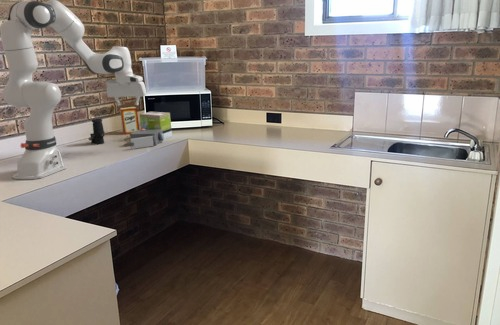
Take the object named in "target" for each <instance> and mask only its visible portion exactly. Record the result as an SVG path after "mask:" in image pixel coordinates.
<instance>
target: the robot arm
mask: <svg viewBox="0 0 500 325" xmlns="http://www.w3.org/2000/svg"><path fill="white" fill-rule="evenodd" d="M47 27H50V28H52V29H53V30H54V31H55V32H56V33H57V34H58V35H59V36H60V37H61V38H62V39H63V40H64V41H65V42H66V43H67V45H68V46H69V47H70V49H72V50H73V52H75V53H76V55H77V56H78V57H79V58H80V59H81V60H82V61H83V63H84V65H85V68H87V70H88V72H90V73H91V74H94V75H101V74H102V75H104V74H109V75H110V74H114V76H115V78H109V79H107V80H106V81H105V86H106V95H107V96H106V97H108V98H114V100H115V102H116V104H117V106H118V107H120V106H122V105H123V104H122V102H121V101H120V100H119V99H120V98H129V97H133V98H134V97H135V99H136V101H134V106H139V101H140V99H141V97H144V96H146V95H147V88H146V86H145V82H144V79H143V78H144V77H143V76H140V75H138V74H137V75H136V74H134V73H133V72H134V71H133V68H132V57H131V52H130V50H129V48H128V47H127V46H124V45H113V46H112V48H110V50H108V51H107V52H104V53H98V52H94V51H93V50H92V49H91V48H90V47H89V46H88V45H87V44H86V42H84V40H83V37H84V35H85V31H86V29H85V25H84V23H83V21H81V20H80V18H79V17H78V16H77V15H76V14H75V13H74V12H72V10H70V9H69V8H68V7H67V6H65V4H63V3H62V2H60V1H59V0H47V1H46V2H42V1H39V0H21V1H17V2H14V3H13V4H12V5H11V7H10V8H9V11H8V17H7V20H6V21H4V22H2V23H1V25H0V40H1V45H2V49H3V52H4V55H5V58H6V63H7V67H8V81H7V83H6V85H5V86H4V88H3V90H2V98H3V100H4V102H6V104H7V105H9V106H12V107H16V108H30V113H29V116H28V117H26V119H24V121H23V127H24V128H23V129H24V132H25V133H24V135H25V138H26V139H25V142H24V143H23V142H21V143H20V148H21V149H25V151H24V152H23V154H22V155H21V157H20V158H19V160H18V162H17V164H16V166H17V168H16V169H17V172H16V173H14V174H13V175H12V177H11V178H12V179H15V180H36V179H37V180H38V179H43V178H45V177H48V176H50V175H53V174H56V173H58V172H60V171H63V170H65V169H67V166H66V165H64V162H63V159H62V155H61V152H60V150H59V149H58V147H57V144H58V143H57V138H56V136H55V134H54V128H53V115H54V114H53V113H54V110H55V108H56V107H57V105H58V104H59V103H60V102H61V99H62V91H61V88H60V87H59V86H58V84H56V83H54V82H49V81H43V80H42V81H41V80H40V81H33V74H34V72H35V71H36V70H37V69H38V66H39V62H38V58H37V54H36V50H35V47H34V43H33V40H32V33H33V32H32V31H33V30H38V29H45V28H47Z"/></svg>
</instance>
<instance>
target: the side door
mask: <svg viewBox="0 0 500 325" xmlns="http://www.w3.org/2000/svg"><path fill="white" fill-rule="evenodd" d="M129 141H130V143H129V144H130V147H131V150H133V149H141V148H147V147H153V146H154V147H155V146H156V145H155V138H154V136H148V137H141V138H134V139H129Z"/></svg>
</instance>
